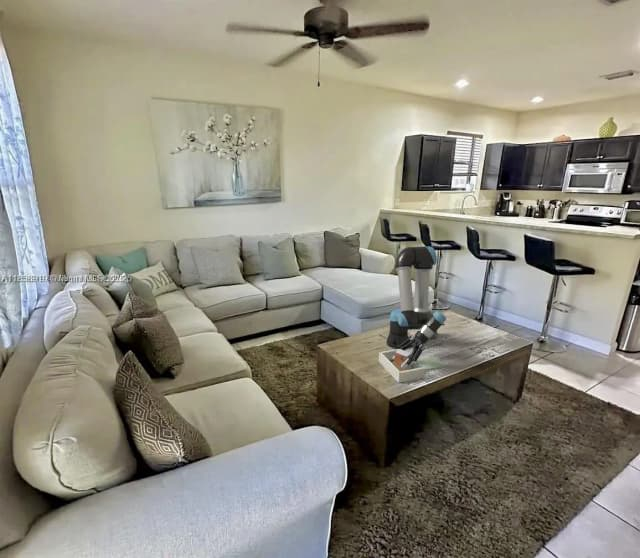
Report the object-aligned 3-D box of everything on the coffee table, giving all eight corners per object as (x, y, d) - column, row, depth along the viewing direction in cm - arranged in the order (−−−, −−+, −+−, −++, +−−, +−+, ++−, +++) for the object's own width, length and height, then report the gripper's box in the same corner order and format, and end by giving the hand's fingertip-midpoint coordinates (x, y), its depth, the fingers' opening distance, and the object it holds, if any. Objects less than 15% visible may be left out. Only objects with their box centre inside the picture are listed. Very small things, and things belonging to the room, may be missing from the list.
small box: (393, 368, 205) (394, 351, 202) (399, 364, 209) (399, 348, 206) (405, 373, 200) (406, 356, 197) (411, 369, 204) (412, 352, 201)
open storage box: (378, 361, 213) (379, 352, 212) (402, 357, 218) (402, 348, 216) (398, 382, 191) (399, 373, 189) (424, 377, 195) (425, 368, 194)
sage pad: (413, 360, 213) (413, 359, 213) (434, 357, 217) (434, 355, 217) (425, 370, 202) (425, 369, 202) (446, 366, 206) (446, 365, 206)
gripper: (439, 346, 194) (411, 376, 194) (417, 330, 214) (392, 358, 214) (431, 338, 191) (403, 369, 191) (410, 323, 211) (385, 351, 211)
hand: (397, 363), depth 203 cm, fingers closed on small box, 9 cm apart
